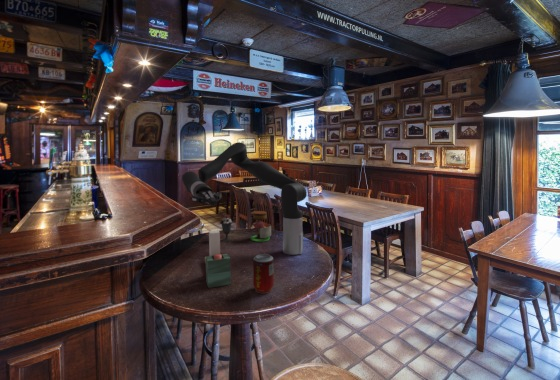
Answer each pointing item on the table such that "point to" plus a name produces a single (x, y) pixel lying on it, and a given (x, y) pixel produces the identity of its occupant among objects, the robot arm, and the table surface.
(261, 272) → the soda can
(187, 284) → the table surface
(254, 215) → the toy burger
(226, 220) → the sundae
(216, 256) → the red rounded capsule
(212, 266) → the rail
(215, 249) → the carriage
